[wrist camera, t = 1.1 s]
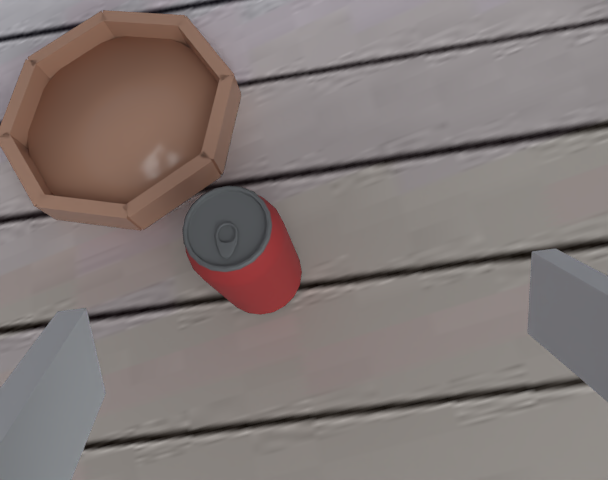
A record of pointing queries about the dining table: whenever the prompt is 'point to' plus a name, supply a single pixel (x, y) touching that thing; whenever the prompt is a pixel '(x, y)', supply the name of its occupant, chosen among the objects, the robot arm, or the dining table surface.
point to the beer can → (242, 249)
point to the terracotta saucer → (120, 119)
